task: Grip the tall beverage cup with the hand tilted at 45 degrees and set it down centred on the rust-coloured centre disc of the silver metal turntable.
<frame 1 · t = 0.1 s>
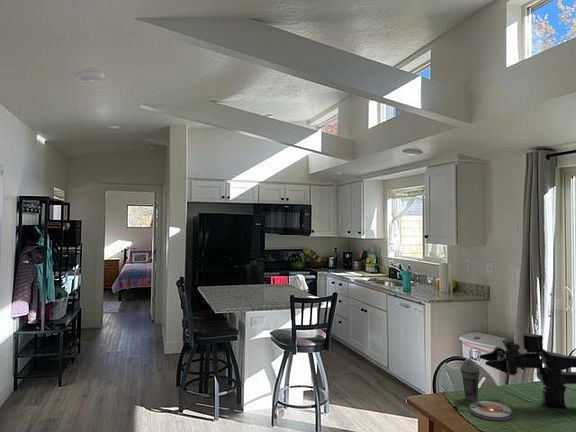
hand: (482, 359, 171), 17 cm above the table, tool horizontal, fingers open, 9 cm apart
beverage cup: (471, 399, 173), on the table
turntable: (490, 409, 159), point 1 cm above the table, hinge at 0.0°
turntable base: (490, 412, 159), on the table
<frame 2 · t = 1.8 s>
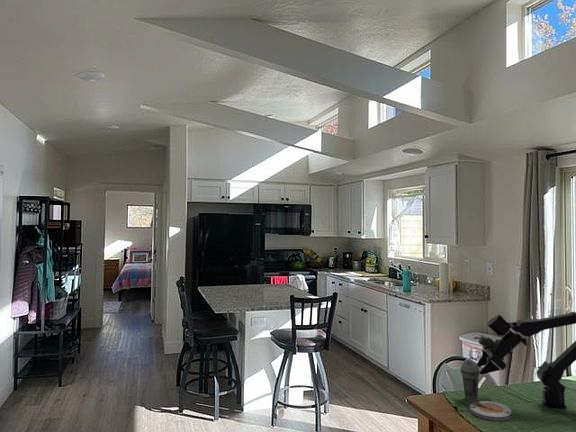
hand: (478, 370, 172), 12 cm above the table, tool tilted 45°, fingers open, 9 cm apart
nothing on the table moved.
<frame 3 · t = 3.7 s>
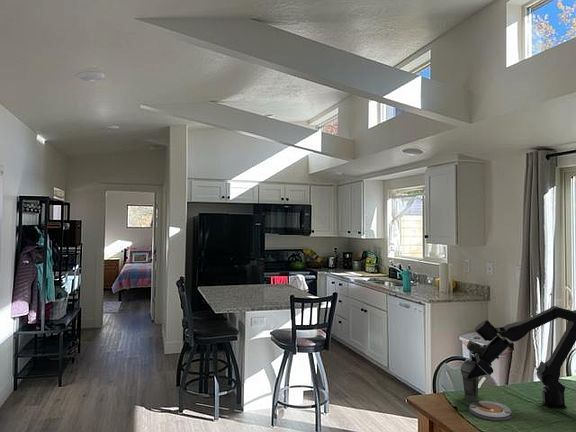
hand: (466, 375, 174), 10 cm above the table, tool tilted 45°, fingers closed on beverage cup, 7 cm apart
beverage cup: (471, 399, 173), on the table, touching gripper
everything else where it was.
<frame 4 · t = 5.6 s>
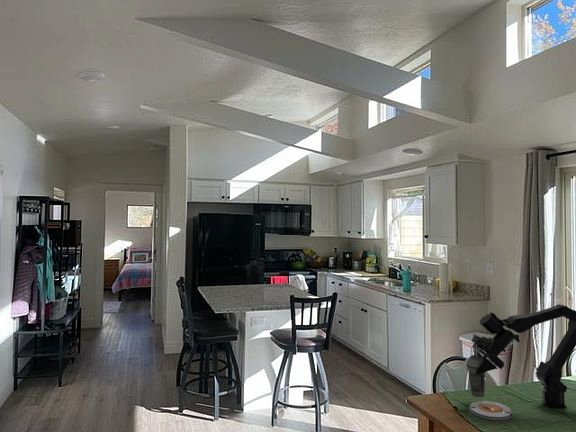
hand: (473, 370, 168), 13 cm above the table, tool tilted 45°, fingers closed on beverage cup, 7 cm apart
beverage cup: (478, 395, 167), point 3 cm above the table, touching gripper
everything else where it was.
when the fingers open (12 cm above the table, at t = 7.6 s): beverage cup stays where it is, resting on turntable.
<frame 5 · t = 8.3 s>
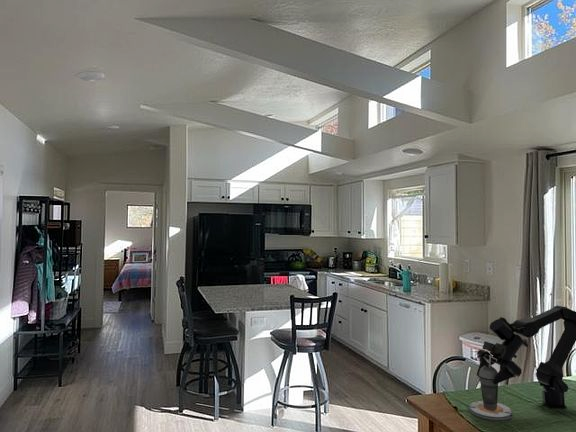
hand: (485, 379, 160), 12 cm above the table, tool tilted 45°, fingers open, 9 cm apart
beverage cup: (490, 408, 159), point 2 cm above the table, touching turntable
turntable: (490, 409, 159), point 1 cm above the table, hinge at 0.0°, touching beverage cup
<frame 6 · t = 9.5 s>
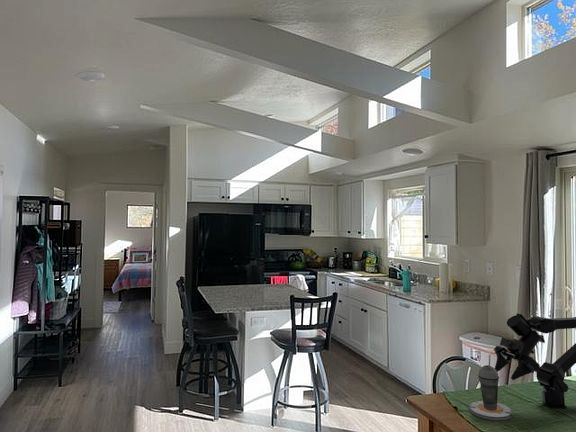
hand: (503, 375, 161), 13 cm above the table, tool tilted 45°, fingers open, 9 cm apart
nothing on the table moved.
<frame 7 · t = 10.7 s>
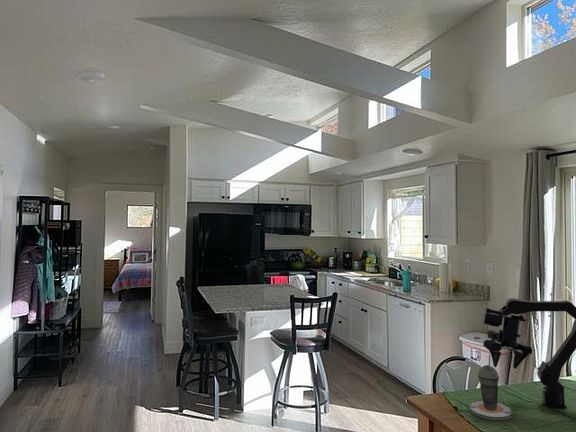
hand: (504, 367, 171), 13 cm above the table, tool pointing down, fingers open, 9 cm apart
nothing on the table moved.
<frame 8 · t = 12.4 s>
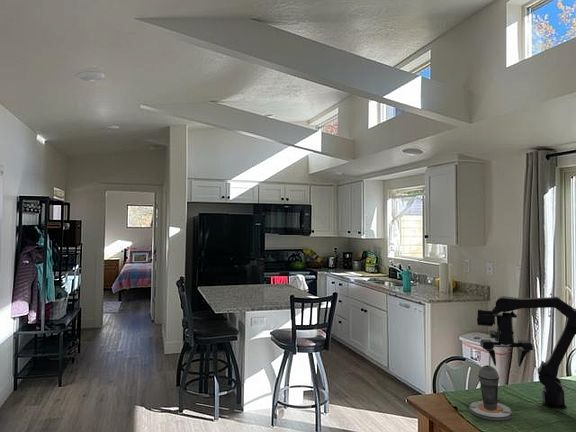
hand: (507, 366, 173), 13 cm above the table, tool pointing down, fingers open, 9 cm apart
nothing on the table moved.
at the end: beverage cup 0.0 cm off-centre on the turntable, point 1.6 cm above the turntable's base; beverage cup tilted 0°; the gripper is holding nothing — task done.
